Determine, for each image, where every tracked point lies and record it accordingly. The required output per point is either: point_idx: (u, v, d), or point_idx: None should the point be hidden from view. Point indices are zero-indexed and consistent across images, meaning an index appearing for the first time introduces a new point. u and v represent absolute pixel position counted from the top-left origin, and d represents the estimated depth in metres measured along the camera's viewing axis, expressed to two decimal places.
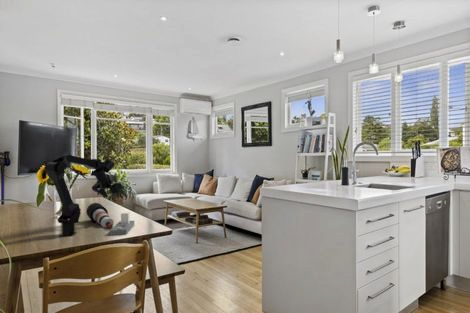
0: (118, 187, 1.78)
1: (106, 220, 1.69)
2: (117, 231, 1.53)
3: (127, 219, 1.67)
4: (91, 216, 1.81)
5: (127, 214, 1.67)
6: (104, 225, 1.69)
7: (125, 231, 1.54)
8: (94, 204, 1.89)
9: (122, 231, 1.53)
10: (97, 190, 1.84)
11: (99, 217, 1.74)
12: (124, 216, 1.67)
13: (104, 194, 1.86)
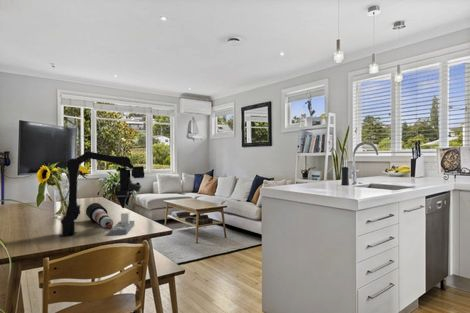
0: (120, 193, 1.60)
1: (106, 220, 1.69)
2: (117, 231, 1.53)
3: (127, 219, 1.67)
4: (91, 216, 1.81)
5: (127, 214, 1.67)
6: (104, 225, 1.68)
7: (125, 231, 1.54)
8: (94, 204, 1.88)
9: (122, 231, 1.53)
10: None
11: (99, 217, 1.74)
12: (124, 216, 1.67)
13: (126, 200, 1.73)
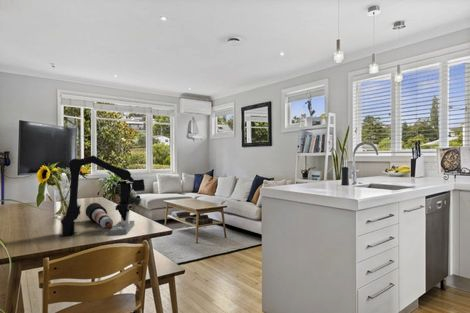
0: (120, 207, 1.60)
1: (105, 220, 1.69)
2: (117, 231, 1.53)
3: (127, 219, 1.67)
4: (90, 216, 1.81)
5: (127, 214, 1.67)
6: (103, 225, 1.68)
7: (125, 231, 1.54)
8: (93, 204, 1.88)
9: (122, 231, 1.53)
10: None
11: (98, 217, 1.74)
12: None
13: None
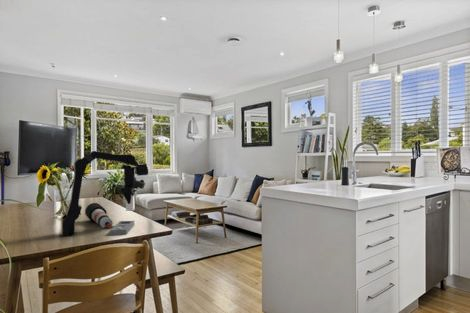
0: (125, 190, 1.65)
1: (105, 220, 1.69)
2: (117, 231, 1.53)
3: (132, 202, 1.73)
4: (90, 216, 1.81)
5: (131, 197, 1.73)
6: (103, 225, 1.68)
7: (125, 231, 1.54)
8: (93, 204, 1.88)
9: (122, 231, 1.53)
10: None
11: (98, 217, 1.73)
12: None
13: None
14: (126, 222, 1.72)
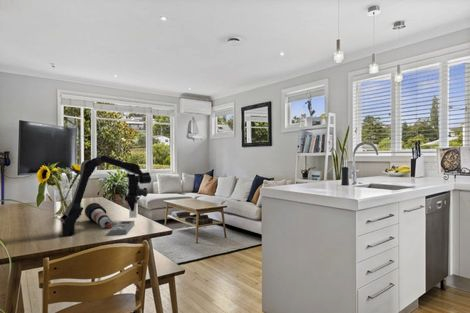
0: (129, 198, 1.72)
1: (105, 220, 1.69)
2: (117, 231, 1.53)
3: (135, 209, 1.79)
4: (90, 216, 1.81)
5: (135, 205, 1.79)
6: (103, 225, 1.68)
7: (125, 231, 1.54)
8: (92, 204, 1.88)
9: (122, 231, 1.53)
10: None
11: (98, 217, 1.73)
12: None
13: None
14: (126, 222, 1.72)
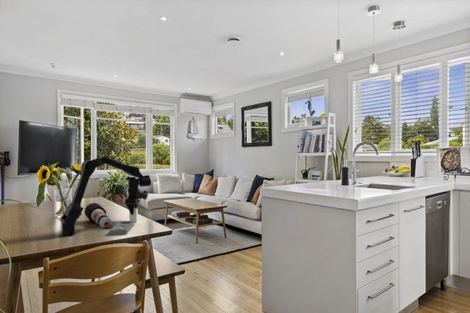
0: (129, 201, 1.72)
1: (104, 220, 1.68)
2: (117, 231, 1.53)
3: (135, 215, 1.79)
4: (89, 216, 1.81)
5: (135, 210, 1.79)
6: (102, 225, 1.68)
7: (125, 231, 1.54)
8: (92, 204, 1.88)
9: (122, 231, 1.53)
10: None
11: (97, 217, 1.73)
12: None
13: (133, 207, 1.85)
14: (126, 222, 1.72)
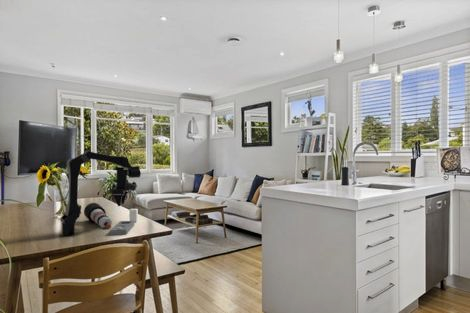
0: (116, 191, 1.66)
1: (104, 220, 1.68)
2: (117, 231, 1.53)
3: (135, 215, 1.79)
4: (89, 216, 1.81)
5: (135, 210, 1.79)
6: (102, 225, 1.68)
7: (125, 231, 1.54)
8: (92, 204, 1.88)
9: (122, 231, 1.53)
10: None
11: (97, 217, 1.73)
12: (132, 212, 1.79)
13: (122, 199, 1.80)
14: (126, 222, 1.72)
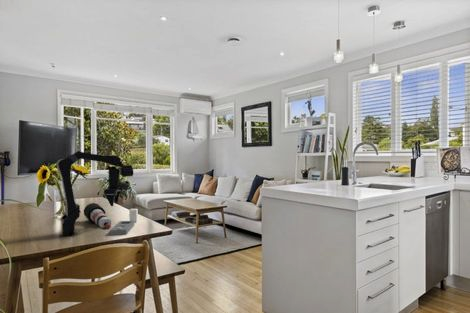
0: (108, 191, 1.63)
1: (104, 220, 1.68)
2: (117, 231, 1.53)
3: (135, 215, 1.79)
4: (88, 216, 1.81)
5: (135, 210, 1.79)
6: (102, 225, 1.68)
7: (125, 231, 1.54)
8: (91, 204, 1.88)
9: (122, 231, 1.53)
10: None
11: (97, 217, 1.73)
12: (132, 212, 1.79)
13: (115, 198, 1.76)
14: (126, 222, 1.72)
